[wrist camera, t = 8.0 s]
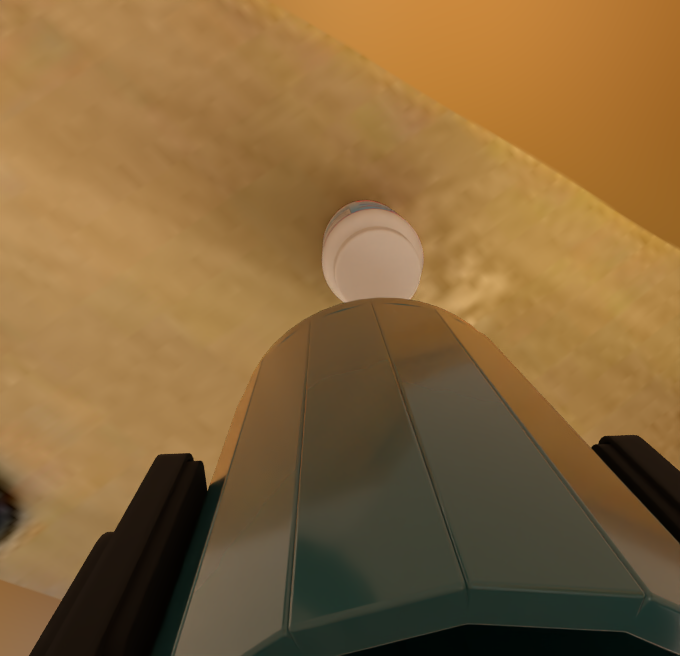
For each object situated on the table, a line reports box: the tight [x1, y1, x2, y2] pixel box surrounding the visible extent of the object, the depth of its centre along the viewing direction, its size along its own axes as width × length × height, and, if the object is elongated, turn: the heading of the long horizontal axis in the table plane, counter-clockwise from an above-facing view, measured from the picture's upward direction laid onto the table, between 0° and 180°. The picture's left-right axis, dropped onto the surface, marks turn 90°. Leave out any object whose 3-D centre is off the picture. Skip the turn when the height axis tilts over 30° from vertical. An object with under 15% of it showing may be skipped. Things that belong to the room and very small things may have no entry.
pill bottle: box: [322, 200, 424, 303], centre depth 32 cm, size 6×6×11 cm
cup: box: [150, 297, 680, 656], centre depth 8 cm, size 7×7×8 cm
